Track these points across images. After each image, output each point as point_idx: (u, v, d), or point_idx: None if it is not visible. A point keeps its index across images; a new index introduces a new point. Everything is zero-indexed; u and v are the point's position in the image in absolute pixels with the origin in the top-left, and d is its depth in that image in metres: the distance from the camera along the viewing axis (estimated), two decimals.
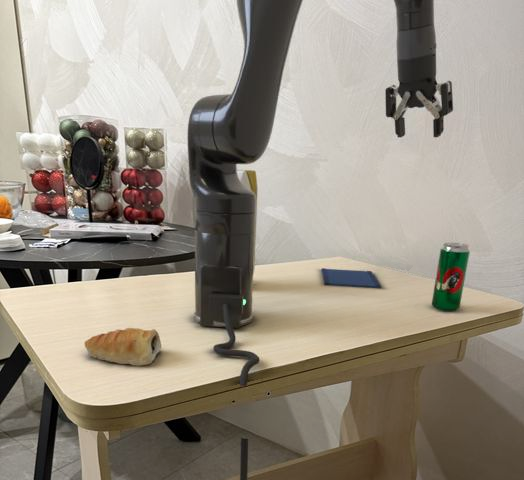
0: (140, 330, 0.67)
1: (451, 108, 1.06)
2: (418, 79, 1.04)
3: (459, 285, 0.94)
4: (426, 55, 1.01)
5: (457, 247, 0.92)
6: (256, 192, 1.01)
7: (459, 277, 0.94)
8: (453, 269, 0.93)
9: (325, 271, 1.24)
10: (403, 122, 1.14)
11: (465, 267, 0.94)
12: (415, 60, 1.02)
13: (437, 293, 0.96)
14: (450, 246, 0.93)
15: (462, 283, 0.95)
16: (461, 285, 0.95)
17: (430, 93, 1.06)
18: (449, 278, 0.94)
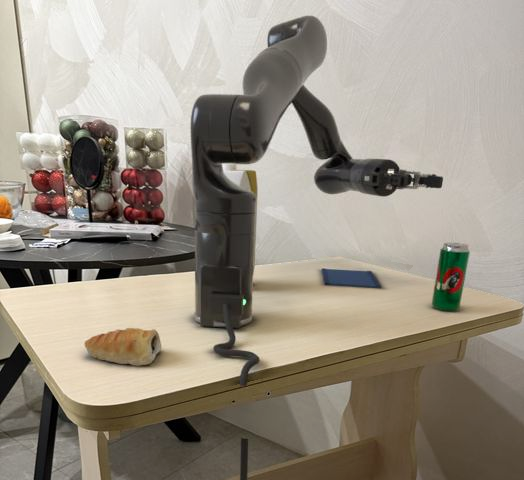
0: (140, 330, 0.67)
1: None
2: (395, 163, 1.10)
3: (459, 285, 0.94)
4: None
5: (457, 247, 0.92)
6: (256, 192, 1.01)
7: (459, 277, 0.94)
8: (453, 269, 0.93)
9: (325, 271, 1.24)
10: None
11: (465, 267, 0.94)
12: None
13: (437, 293, 0.96)
14: (450, 246, 0.93)
15: (462, 283, 0.95)
16: (461, 285, 0.95)
17: None
18: (449, 278, 0.94)
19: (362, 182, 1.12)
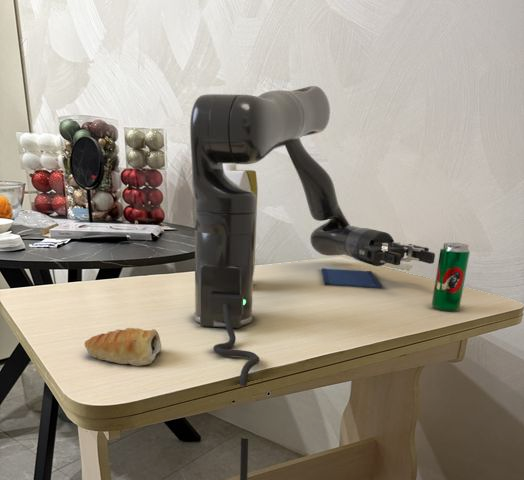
0: (140, 330, 0.67)
1: None
2: (389, 234, 1.14)
3: (459, 285, 0.94)
4: None
5: (457, 247, 0.92)
6: (256, 192, 1.01)
7: (459, 277, 0.94)
8: (453, 269, 0.93)
9: (325, 271, 1.24)
10: None
11: (465, 267, 0.94)
12: None
13: (437, 293, 0.96)
14: (450, 246, 0.93)
15: (462, 283, 0.95)
16: (461, 285, 0.95)
17: None
18: (449, 278, 0.94)
19: (357, 252, 1.16)
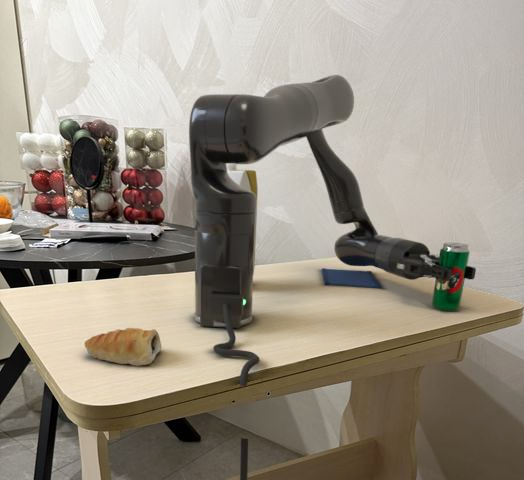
0: (140, 330, 0.67)
1: None
2: (425, 245, 1.04)
3: (459, 285, 0.94)
4: None
5: (457, 247, 0.92)
6: (256, 192, 1.01)
7: (459, 277, 0.94)
8: (453, 269, 0.93)
9: (325, 271, 1.24)
10: None
11: (465, 267, 0.94)
12: None
13: (437, 293, 0.96)
14: (450, 246, 0.93)
15: (462, 283, 0.95)
16: (461, 285, 0.95)
17: None
18: None
19: (389, 264, 1.06)
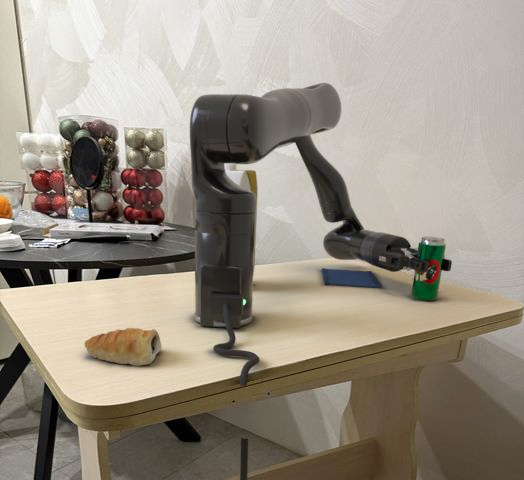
0: (140, 330, 0.67)
1: None
2: (406, 239, 1.11)
3: (436, 276, 1.01)
4: None
5: (434, 241, 0.99)
6: (256, 192, 1.01)
7: (436, 269, 1.00)
8: (430, 262, 1.00)
9: (325, 271, 1.24)
10: None
11: (441, 259, 1.00)
12: None
13: (416, 284, 1.03)
14: (427, 240, 0.99)
15: (439, 275, 1.01)
16: (438, 276, 1.01)
17: None
18: None
19: (373, 257, 1.13)
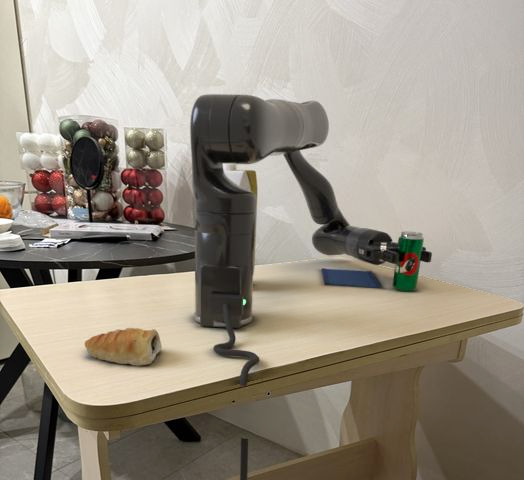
0: (140, 330, 0.67)
1: None
2: None
3: (415, 268, 1.08)
4: None
5: (412, 235, 1.06)
6: (256, 192, 1.01)
7: (414, 261, 1.07)
8: (409, 254, 1.07)
9: (325, 271, 1.24)
10: None
11: (420, 252, 1.07)
12: None
13: (396, 276, 1.09)
14: (406, 234, 1.06)
15: (418, 267, 1.08)
16: (417, 268, 1.08)
17: None
18: (406, 262, 1.07)
19: (357, 251, 1.20)
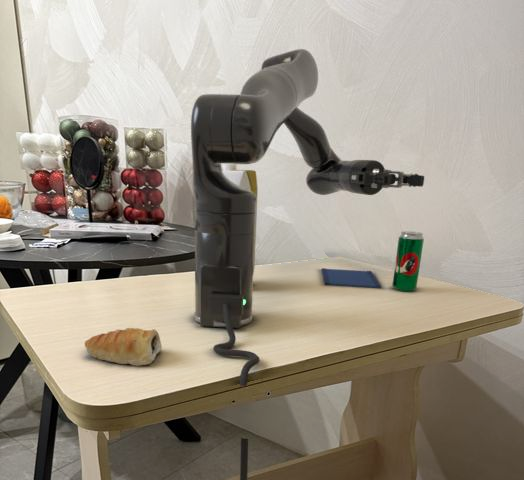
0: (140, 330, 0.67)
1: None
2: None
3: (415, 268, 1.08)
4: None
5: (412, 235, 1.06)
6: (256, 192, 1.01)
7: (414, 261, 1.07)
8: (409, 254, 1.07)
9: (325, 271, 1.24)
10: None
11: (420, 252, 1.07)
12: None
13: (396, 276, 1.09)
14: (406, 234, 1.06)
15: (418, 267, 1.08)
16: (417, 268, 1.08)
17: None
18: (406, 262, 1.07)
19: (350, 181, 1.19)
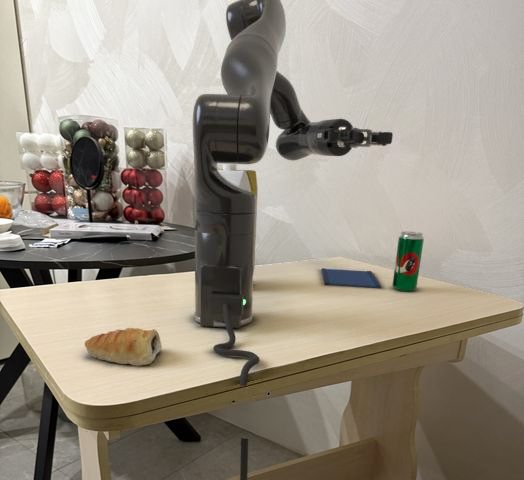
0: (140, 330, 0.67)
1: None
2: (349, 122, 1.12)
3: (415, 268, 1.08)
4: None
5: (412, 235, 1.06)
6: (256, 192, 1.01)
7: (414, 261, 1.07)
8: (409, 254, 1.07)
9: (325, 271, 1.24)
10: None
11: (420, 252, 1.07)
12: None
13: (396, 276, 1.09)
14: (406, 234, 1.06)
15: (418, 267, 1.08)
16: (417, 268, 1.08)
17: None
18: (406, 262, 1.07)
19: (317, 142, 1.14)
